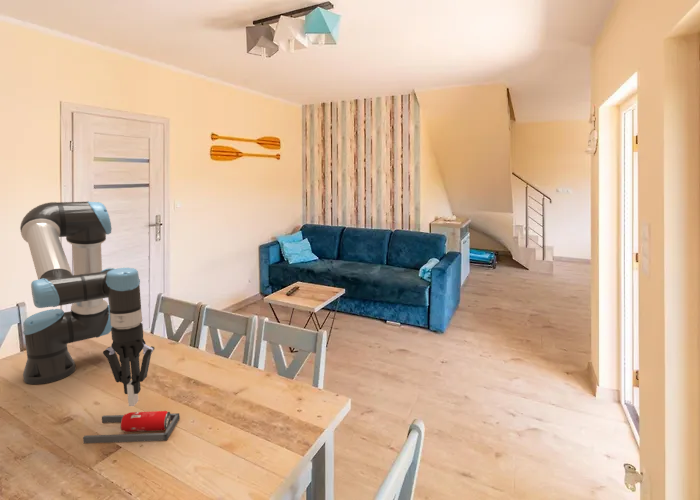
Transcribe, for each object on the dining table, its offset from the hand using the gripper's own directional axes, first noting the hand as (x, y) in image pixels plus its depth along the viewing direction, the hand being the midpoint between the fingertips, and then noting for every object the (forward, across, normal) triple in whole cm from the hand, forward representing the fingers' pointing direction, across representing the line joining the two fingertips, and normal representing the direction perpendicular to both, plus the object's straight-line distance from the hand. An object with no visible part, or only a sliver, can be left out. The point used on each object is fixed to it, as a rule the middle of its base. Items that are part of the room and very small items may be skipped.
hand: (133, 403), depth 109 cm
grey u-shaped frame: (+9, 0, 0) cm, 9 cm away
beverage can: (+6, -3, 0) cm, 7 cm away
